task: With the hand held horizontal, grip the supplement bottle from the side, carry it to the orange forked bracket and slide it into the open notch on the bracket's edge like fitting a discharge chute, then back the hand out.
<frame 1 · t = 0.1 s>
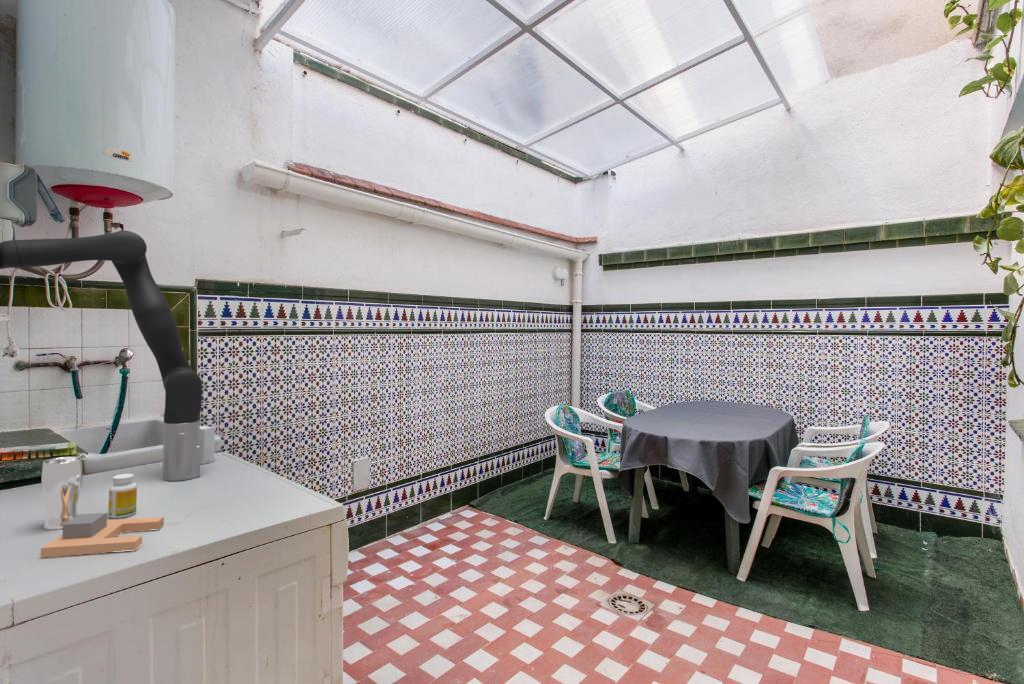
orange forked bracket: (107, 540, 106), on the countertop
supplement bottle: (122, 515, 121), on the countertop
skincare box: (202, 462, 169), on the countertop
beer glass: (61, 525, 114), on the countertop
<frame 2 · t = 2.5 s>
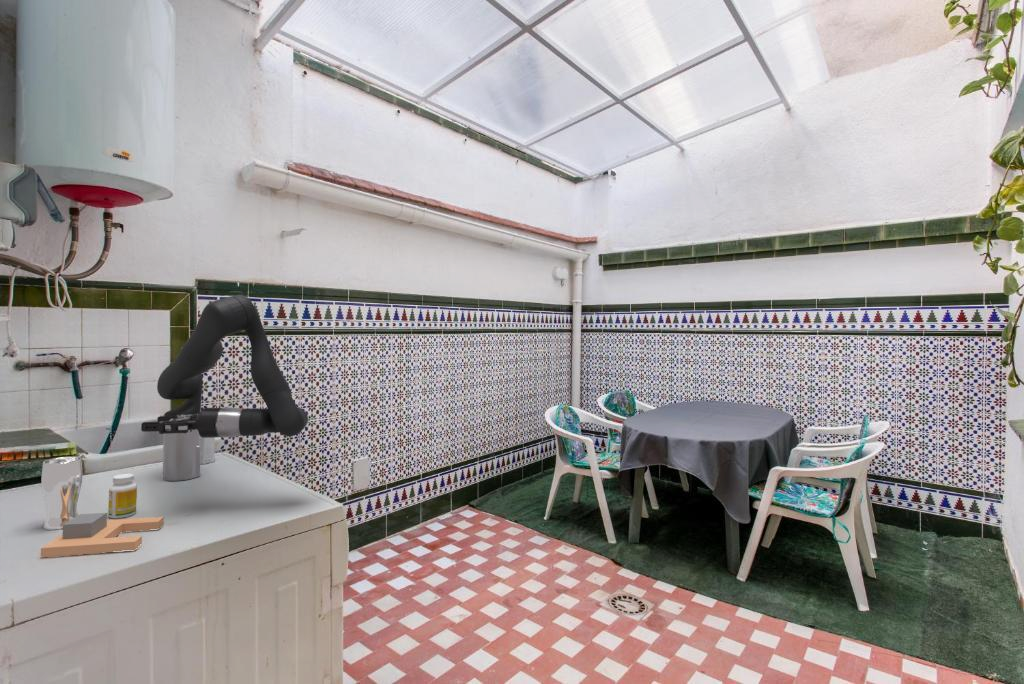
hand: (150, 423, 123), 22 cm above the countertop, tool horizontal, fingers open, 8 cm apart
nothing on the countertop moved.
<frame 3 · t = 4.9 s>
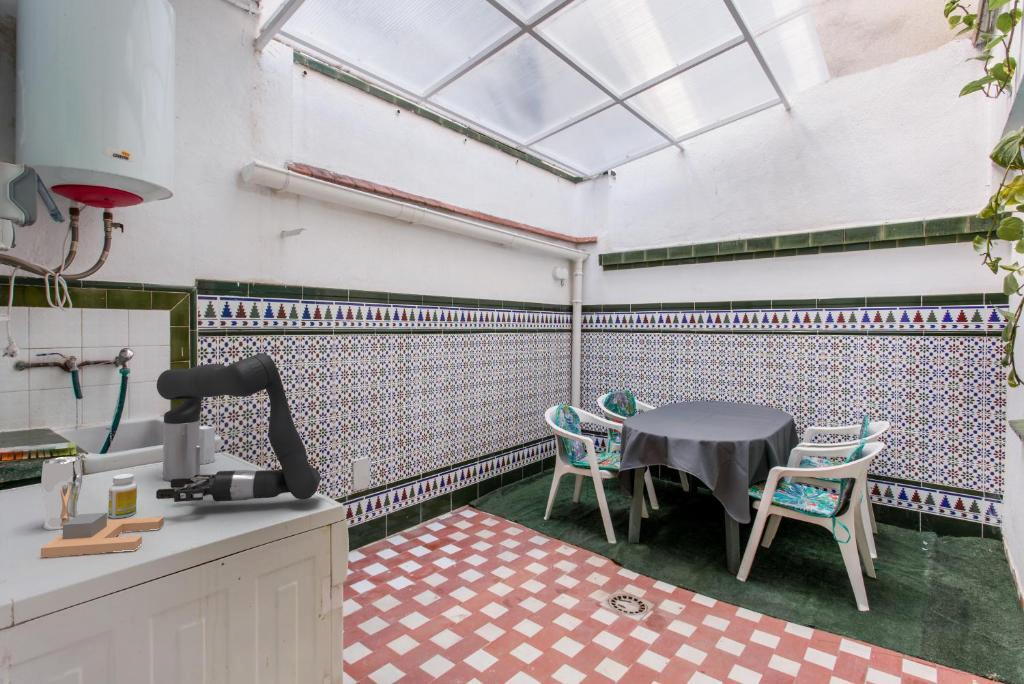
hand: (164, 488, 123), 6 cm above the countertop, tool horizontal, fingers open, 8 cm apart
nothing on the countertop moved.
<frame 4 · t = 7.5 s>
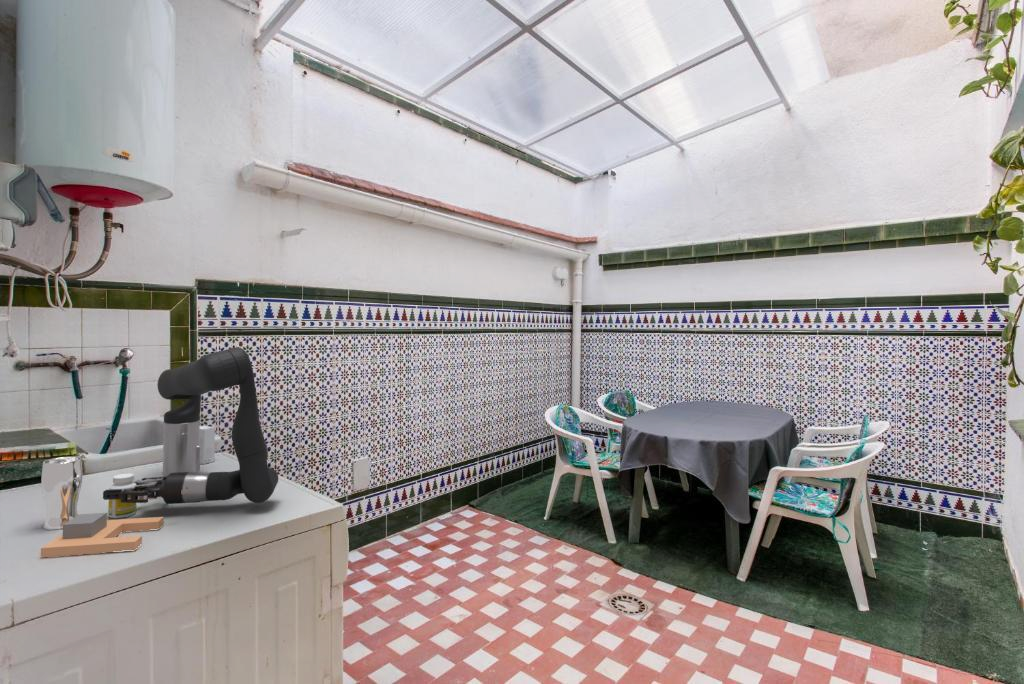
hand: (110, 490, 120), 6 cm above the countertop, tool horizontal, fingers closed on supplement bottle, 5 cm apart
supplement bottle: (122, 515, 121), on the countertop, touching gripper
everything else where it was.
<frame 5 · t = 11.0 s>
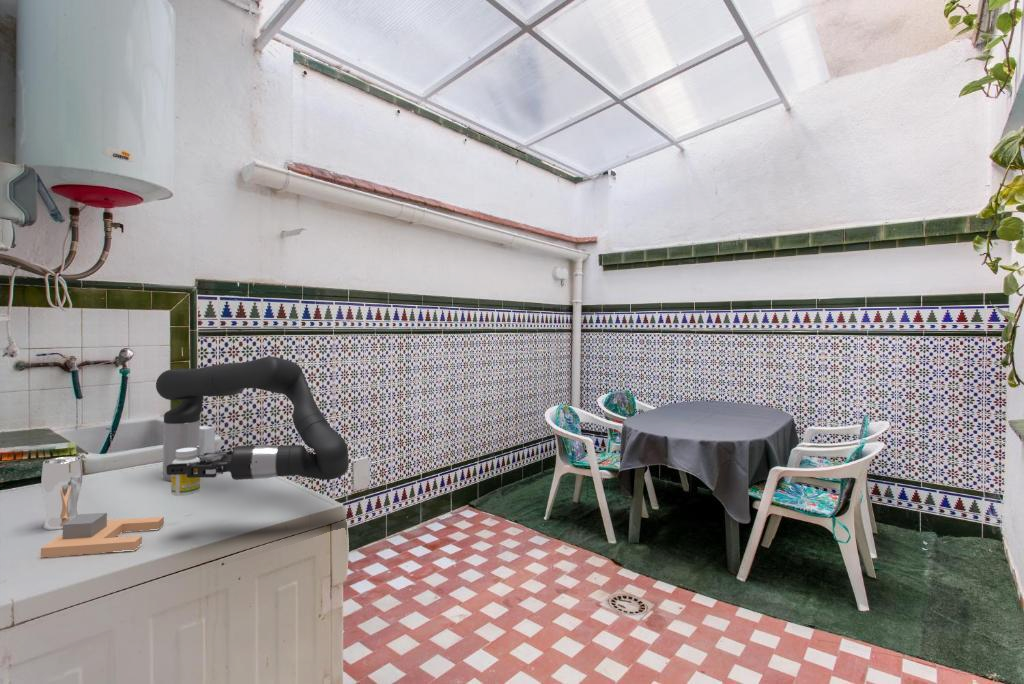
hand: (173, 465, 109), 16 cm above the countertop, tool horizontal, fingers closed on supplement bottle, 5 cm apart
supplement bottle: (185, 493, 110), point 9 cm above the countertop, touching gripper
everything else where it was.
when the fingers open (7 cm above the countertop, at t = 14.8 s): supplement bottle drops 1 cm, on the countertop.
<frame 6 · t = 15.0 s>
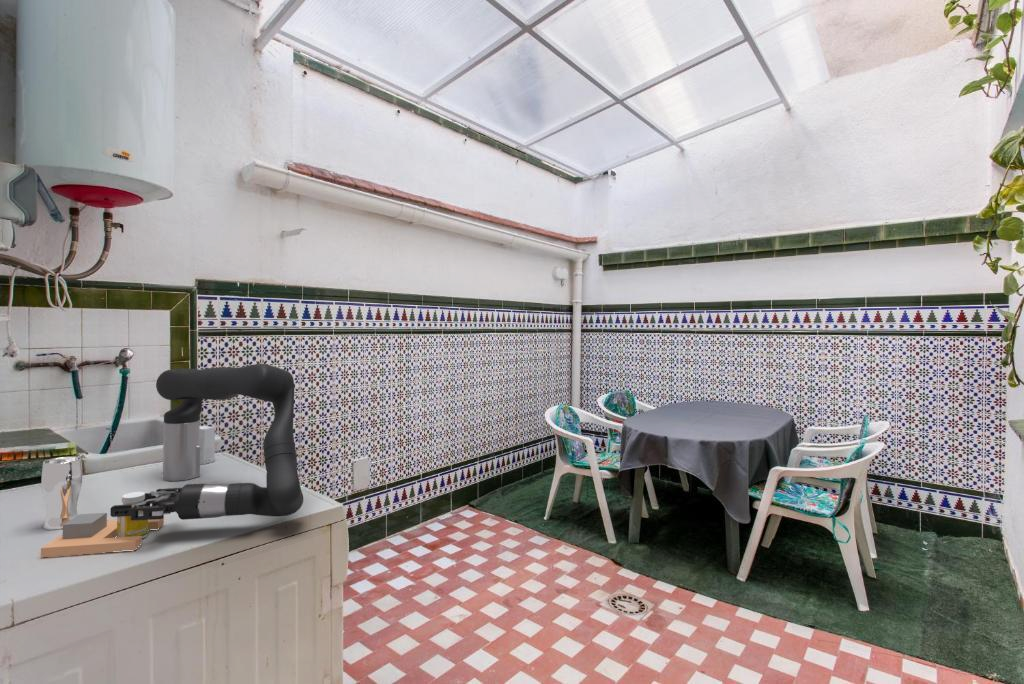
hand: (120, 505, 107), 7 cm above the countertop, tool horizontal, fingers open, 7 cm apart
supplement bottle: (132, 539, 108), on the countertop
everything else where it was.
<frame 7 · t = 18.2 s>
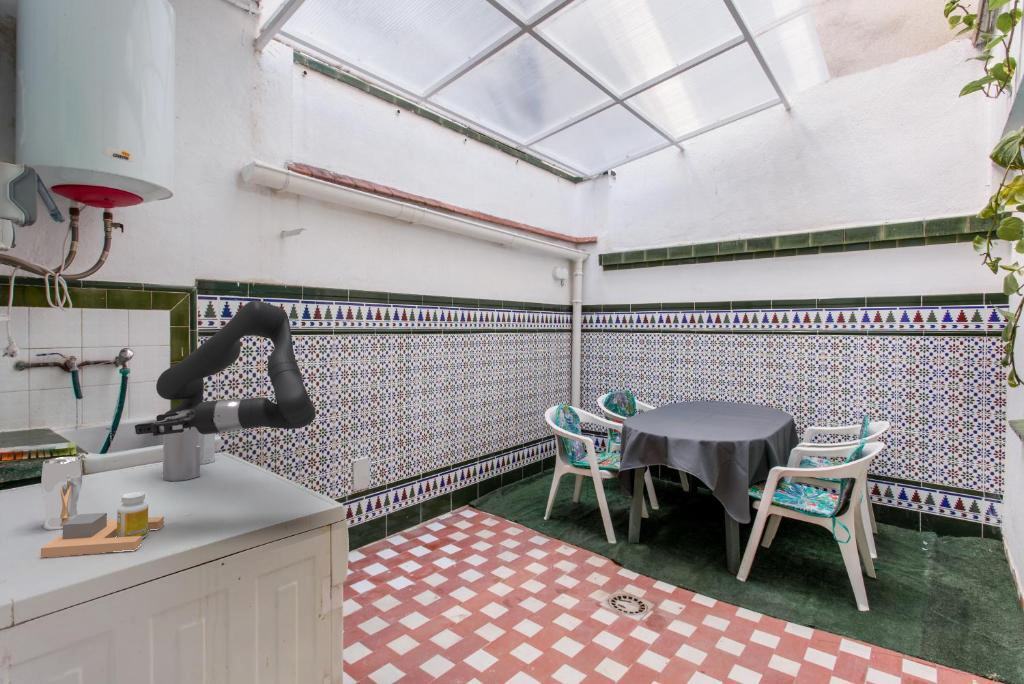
hand: (147, 424, 113), 24 cm above the countertop, tool horizontal, fingers open, 8 cm apart
nothing on the countertop moved.
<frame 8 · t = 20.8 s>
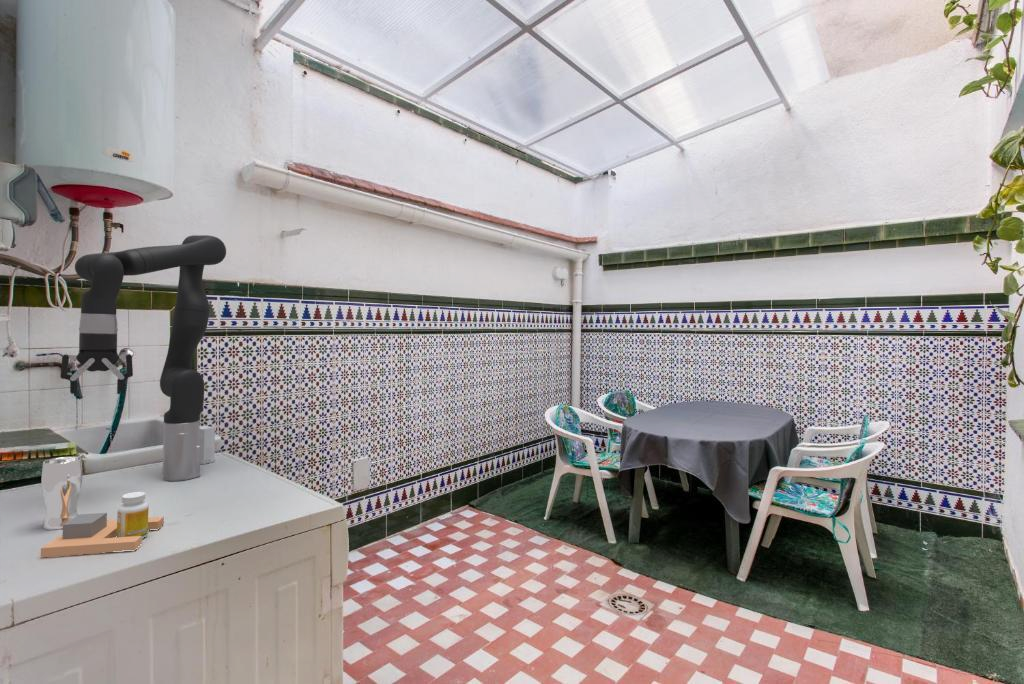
hand: (97, 394, 128), 28 cm above the countertop, tool pointing down, fingers open, 8 cm apart
nothing on the countertop moved.
at the end: supplement bottle inside the target area (0.2 cm from its centre), on the countertop; supplement bottle tilted 0°; the gripper is holding nothing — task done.
